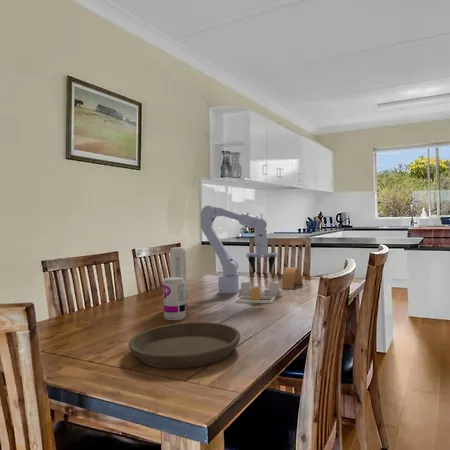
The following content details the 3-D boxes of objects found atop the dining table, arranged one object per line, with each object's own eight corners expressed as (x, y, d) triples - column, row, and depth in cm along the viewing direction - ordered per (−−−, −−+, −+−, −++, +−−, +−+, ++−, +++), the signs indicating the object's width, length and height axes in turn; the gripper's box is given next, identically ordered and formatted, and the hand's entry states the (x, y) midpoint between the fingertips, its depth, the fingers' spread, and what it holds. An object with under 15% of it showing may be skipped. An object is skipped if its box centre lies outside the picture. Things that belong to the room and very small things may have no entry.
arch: (302, 283, 213) (302, 265, 213) (293, 290, 195) (292, 270, 195) (292, 283, 216) (291, 265, 216) (281, 290, 198) (280, 270, 197)
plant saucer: (105, 366, 104) (104, 348, 104) (164, 332, 133) (163, 318, 133) (216, 379, 93) (215, 359, 93) (254, 339, 122) (254, 324, 122)
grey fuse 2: (269, 296, 180) (268, 282, 180) (270, 294, 182) (270, 281, 182) (278, 296, 179) (277, 282, 179) (279, 295, 181) (278, 281, 181)
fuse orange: (254, 300, 174) (253, 285, 174) (259, 300, 173) (259, 285, 173) (252, 302, 170) (251, 287, 170) (257, 302, 170) (257, 287, 169)
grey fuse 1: (241, 295, 184) (240, 282, 184) (242, 294, 186) (242, 281, 186) (249, 295, 183) (249, 282, 183) (251, 294, 185) (250, 281, 185)
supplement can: (168, 322, 144) (166, 280, 144) (161, 317, 152) (159, 278, 151) (189, 319, 148) (187, 278, 148) (181, 314, 155) (179, 275, 155)
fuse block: (237, 298, 182) (237, 290, 182) (241, 295, 189) (241, 287, 189) (280, 299, 176) (279, 291, 176) (282, 296, 183) (282, 288, 183)
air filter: (190, 305, 170) (187, 246, 170) (182, 309, 165) (179, 248, 164) (177, 304, 173) (174, 246, 173) (168, 308, 167) (166, 248, 167)
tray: (236, 304, 170) (235, 299, 170) (241, 299, 179) (241, 295, 179) (271, 305, 165) (271, 300, 165) (275, 300, 174) (275, 296, 174)
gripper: (244, 244, 189) (245, 273, 189) (274, 244, 184) (275, 273, 185) (247, 243, 195) (248, 271, 196) (277, 243, 191) (278, 271, 191)
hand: (262, 272), depth 191 cm, fingers open, 7 cm apart
